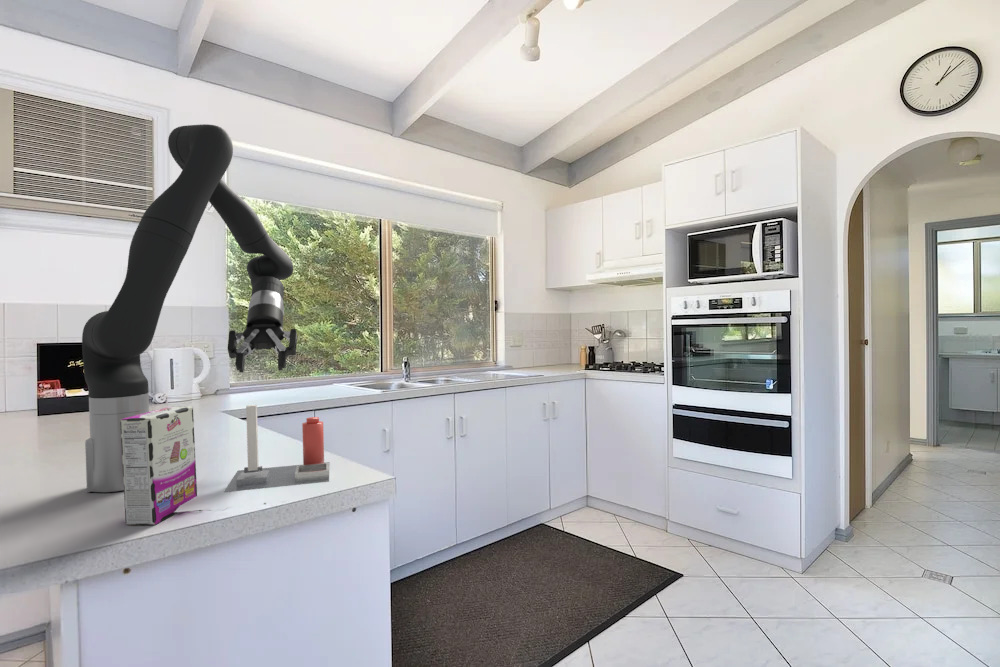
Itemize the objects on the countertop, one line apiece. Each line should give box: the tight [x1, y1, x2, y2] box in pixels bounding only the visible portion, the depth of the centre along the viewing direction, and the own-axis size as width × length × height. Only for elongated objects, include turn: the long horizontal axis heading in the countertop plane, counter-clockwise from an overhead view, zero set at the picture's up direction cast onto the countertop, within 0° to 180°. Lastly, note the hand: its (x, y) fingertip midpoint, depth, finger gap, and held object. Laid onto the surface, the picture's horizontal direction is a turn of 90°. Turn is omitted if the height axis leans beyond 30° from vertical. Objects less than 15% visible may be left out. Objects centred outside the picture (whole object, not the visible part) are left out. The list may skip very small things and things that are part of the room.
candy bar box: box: [120, 405, 198, 526], centre depth 85 cm, size 11×5×16 cm, turn 179°
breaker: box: [243, 404, 263, 473], centre depth 99 cm, size 3×2×12 cm, turn 107°
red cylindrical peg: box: [301, 416, 325, 465], centre depth 108 cm, size 4×4×10 cm
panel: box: [223, 461, 330, 493], centre depth 102 cm, size 18×14×2 cm
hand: (260, 369), depth 112 cm, fingers open, 7 cm apart
